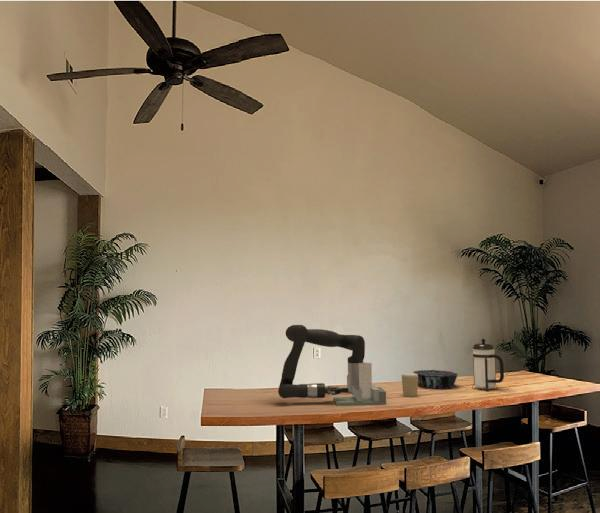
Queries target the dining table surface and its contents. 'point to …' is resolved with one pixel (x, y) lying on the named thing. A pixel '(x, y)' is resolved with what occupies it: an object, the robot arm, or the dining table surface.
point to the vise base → (377, 399)
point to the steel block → (365, 380)
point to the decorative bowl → (436, 379)
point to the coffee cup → (410, 384)
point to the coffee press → (485, 366)
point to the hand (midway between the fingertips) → (348, 390)
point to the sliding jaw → (357, 393)
